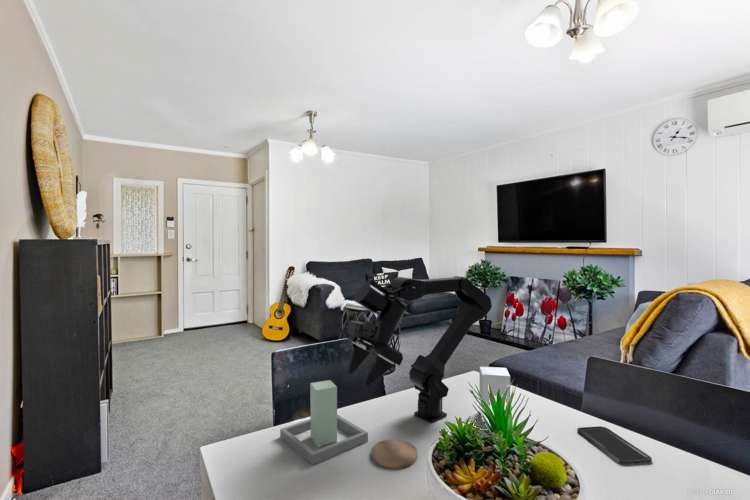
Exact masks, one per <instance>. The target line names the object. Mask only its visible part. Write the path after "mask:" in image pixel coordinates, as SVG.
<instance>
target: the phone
mask: <svg viewBox="0 0 750 500" xmlns="http://www.w3.org/2000/svg"><path fill="white" fill-rule="evenodd" d="M576 430H577V434H579V435H580V436H582V438H584V439H585V440H587V441H588V442H589V443H591V444H592V445H593V446H594V447H596V448H597V449H599V450H600V451H601V452H603V454H605V455H606V456H608V457H609V458H611V460H613V461H614V462H616V463H617V464H618V465H620V466H621V465H622V466H630V465H631V466H632V465H633V464H634V465H647V464H648V465H649V464H652V462H653V457H651V456H650V455H648V454H647V453H645V452H644V451H642V449H640V448H638V447H636V446H635V445H633V444H632V443H630V442H629V441H627V439H624V438H623V437H622V436H620V435H618V434H617V433H616V432H614V431H612V430H611V429H610V428H608V427H605V426H600V425H599V426H586V427H583V426H582V427H577V429H576ZM634 465H633V466H634Z"/></svg>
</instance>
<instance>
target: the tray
mask: <svg viewBox="0 0 750 500" xmlns="http://www.w3.org/2000/svg"><path fill="white" fill-rule="evenodd" d="M339 426H340V427H339ZM337 427H339V428H341V429H342V428H343V430H344V431H345V432H347V433H349V434H351V435H352V436H349V437H346V438H345V439H342V440H340V441H337V442H335V443H331V444H329V445H327V446H325V447H323V448H320V449H317V450H313V449H311V448H310V447H309V446H307V445H306V444H305V443H304V442H303V441H301V439H299V438H298V437H296V436H295V435H297V433H298V434H300V433H303V432H305V430H306V431H309V430H311V429H310V428H311V418H310V419H309V418H308V419H306V420H303V421H300V422H297V423H294V424H291V425H289V426H286V427H283V428H279V434H280V435H279V437H280V439H282V440H283V441H284V442H285V443H286V444H287V445H289V446H290V447H291V448H292V449H293V450H294V451H295V452H297V453H298V455H301V456H302V457H303V458H304V459H305V460H306V461H308V462H309V464H311V465H316V464H317V463H320V462H322V461H325V460H327V459H330V458H332V457H334V456H337V455H339V454H342V453H344V452H346V451H348V450H351V449H352V448H355V447H358V446H360V445H362V444H364V443H366V442H368V441H369V432H367V431H366V430H364V429H362V428H361V427H359V426H358V425H356V424H354V423H353V422H351V421H349V420H348V419H346V418H345V417H342V416H341V415H338V414H337ZM308 429H309V430H308ZM302 431H303V432H302ZM299 432H300V433H299ZM294 434H295V435H294Z"/></svg>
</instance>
